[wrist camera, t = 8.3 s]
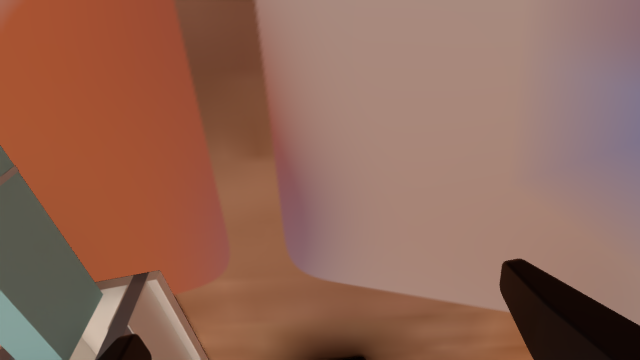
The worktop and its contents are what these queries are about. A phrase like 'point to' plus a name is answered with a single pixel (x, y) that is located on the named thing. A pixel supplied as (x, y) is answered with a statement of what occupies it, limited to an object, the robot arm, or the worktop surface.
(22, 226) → the teal square rod
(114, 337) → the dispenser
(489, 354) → the worktop surface
